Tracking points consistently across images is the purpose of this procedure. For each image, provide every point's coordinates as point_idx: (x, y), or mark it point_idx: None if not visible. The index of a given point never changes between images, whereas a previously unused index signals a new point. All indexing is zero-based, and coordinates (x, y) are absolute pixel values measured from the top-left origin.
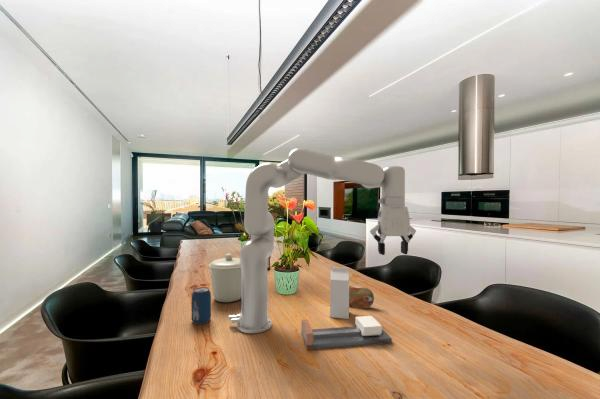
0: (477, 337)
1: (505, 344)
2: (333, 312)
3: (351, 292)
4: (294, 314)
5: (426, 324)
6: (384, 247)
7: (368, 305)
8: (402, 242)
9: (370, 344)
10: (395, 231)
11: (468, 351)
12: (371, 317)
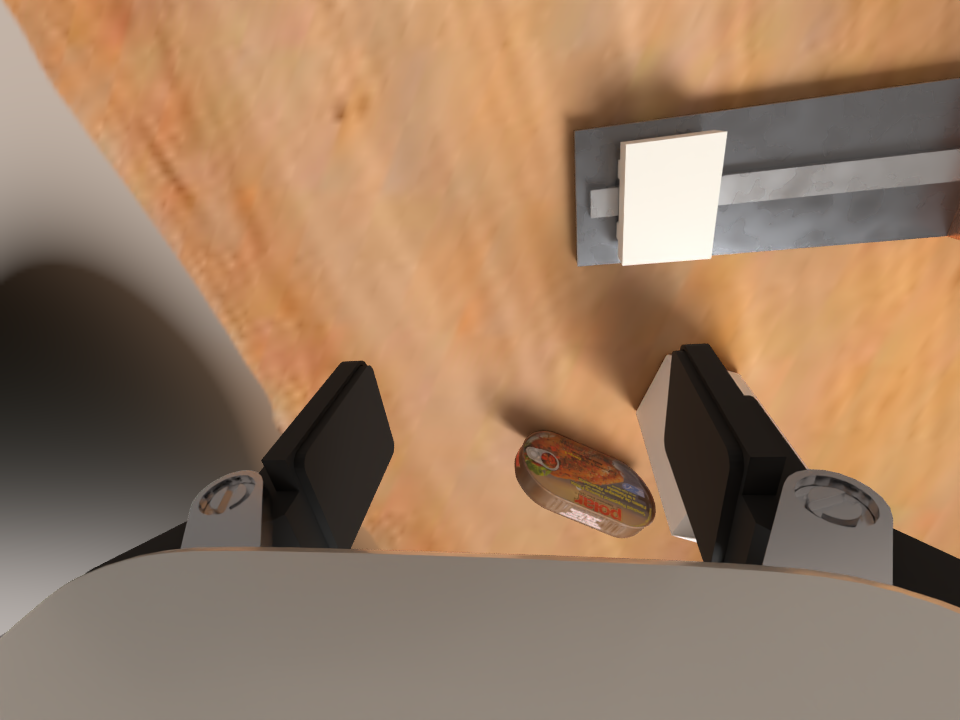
0: (212, 170)
1: (128, 108)
2: (735, 381)
3: (607, 499)
4: (889, 412)
5: (366, 287)
6: (719, 402)
7: (542, 438)
8: (332, 525)
9: (677, 116)
10: (508, 712)
11: (283, 48)
12: (631, 247)
